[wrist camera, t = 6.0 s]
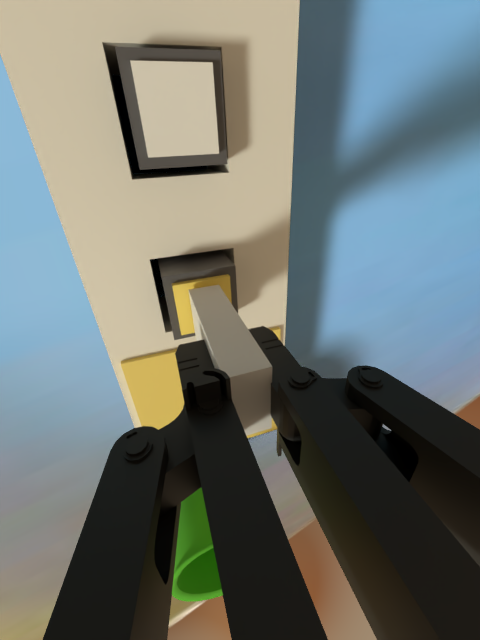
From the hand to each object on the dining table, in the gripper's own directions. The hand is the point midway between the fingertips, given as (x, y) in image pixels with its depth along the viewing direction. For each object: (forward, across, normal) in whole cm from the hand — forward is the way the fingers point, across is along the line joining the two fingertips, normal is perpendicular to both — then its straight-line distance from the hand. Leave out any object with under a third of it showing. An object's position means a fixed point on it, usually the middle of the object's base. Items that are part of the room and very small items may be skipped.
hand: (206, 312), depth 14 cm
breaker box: (+7, 0, 0) cm, 7 cm away
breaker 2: (+7, 0, 0) cm, 7 cm away
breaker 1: (+7, 0, +8) cm, 11 cm away
